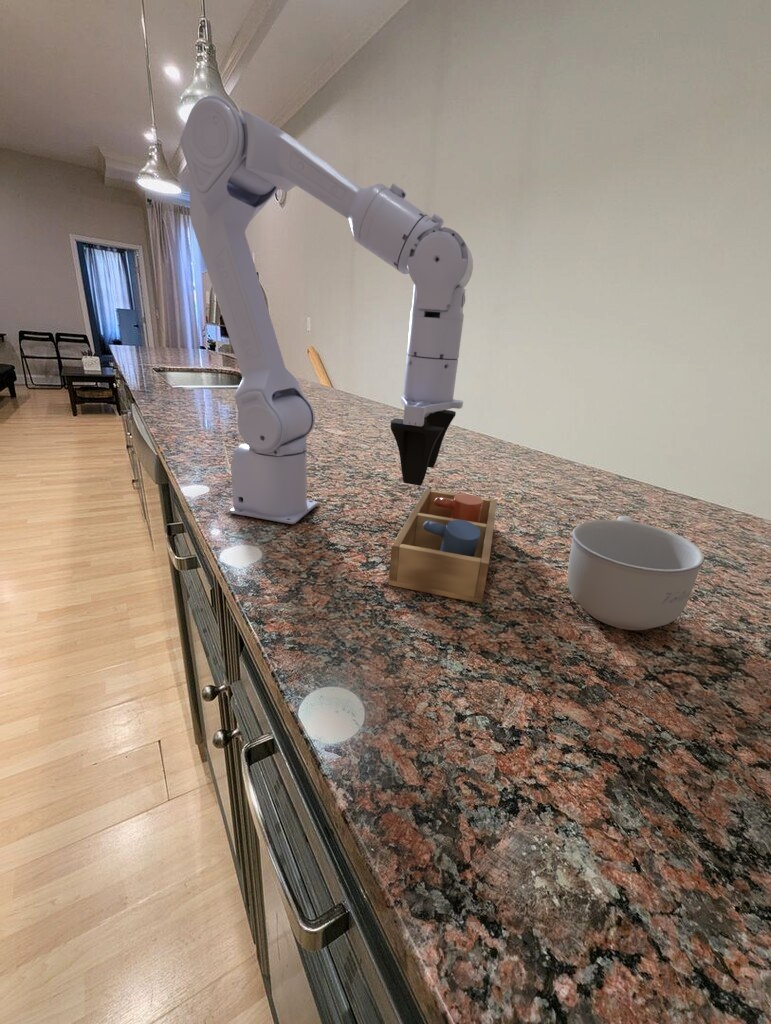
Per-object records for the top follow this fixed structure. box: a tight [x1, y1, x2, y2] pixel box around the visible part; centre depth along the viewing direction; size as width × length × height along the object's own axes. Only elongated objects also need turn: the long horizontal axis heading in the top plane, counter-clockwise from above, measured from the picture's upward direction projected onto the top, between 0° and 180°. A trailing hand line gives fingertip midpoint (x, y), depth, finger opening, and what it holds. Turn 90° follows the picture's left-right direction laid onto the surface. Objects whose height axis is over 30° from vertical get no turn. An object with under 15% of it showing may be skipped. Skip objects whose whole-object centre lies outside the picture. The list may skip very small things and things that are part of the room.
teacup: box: [566, 515, 705, 631], centre depth 44 cm, size 14×11×8 cm
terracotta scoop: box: [434, 493, 483, 523], centre depth 56 cm, size 6×4×5 cm, turn 75°
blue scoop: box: [423, 520, 481, 557], centre depth 48 cm, size 6×4×5 cm, turn 69°
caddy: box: [388, 488, 498, 605], centre depth 52 cm, size 10×18×5 cm, turn 165°
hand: (419, 474), depth 55 cm, fingers open, 7 cm apart
